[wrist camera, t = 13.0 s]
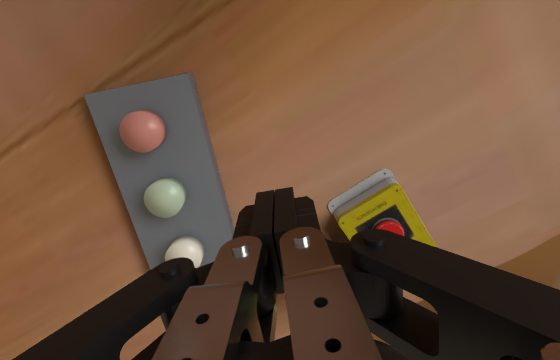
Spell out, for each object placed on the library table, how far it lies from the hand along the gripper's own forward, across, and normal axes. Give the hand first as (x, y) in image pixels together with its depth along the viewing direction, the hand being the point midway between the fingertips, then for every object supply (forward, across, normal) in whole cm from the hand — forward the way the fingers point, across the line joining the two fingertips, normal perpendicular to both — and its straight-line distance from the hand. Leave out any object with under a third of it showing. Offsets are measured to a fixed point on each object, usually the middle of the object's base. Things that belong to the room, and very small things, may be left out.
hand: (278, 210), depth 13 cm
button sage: (+23, +15, +7) cm, 28 cm away
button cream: (+23, +15, +15) cm, 31 cm away
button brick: (+24, +15, -1) cm, 28 cm away
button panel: (+26, +15, +7) cm, 31 cm away
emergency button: (+26, -11, +18) cm, 34 cm away
